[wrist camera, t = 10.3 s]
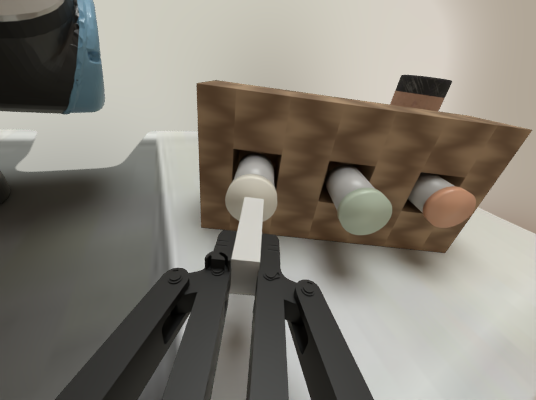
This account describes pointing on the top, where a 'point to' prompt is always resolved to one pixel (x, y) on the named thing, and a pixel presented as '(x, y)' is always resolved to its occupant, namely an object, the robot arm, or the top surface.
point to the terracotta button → (441, 201)
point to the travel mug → (420, 92)
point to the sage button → (357, 201)
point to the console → (343, 158)
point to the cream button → (252, 185)
